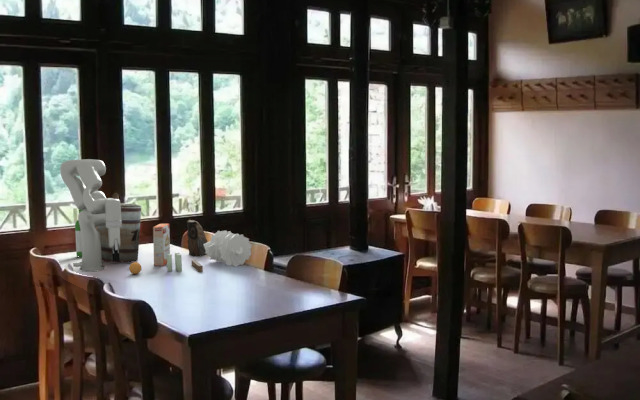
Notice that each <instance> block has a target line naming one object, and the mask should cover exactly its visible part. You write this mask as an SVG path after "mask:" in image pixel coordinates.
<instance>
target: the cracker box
mask: <svg viewBox="0 0 640 400" xmlns="http://www.w3.org/2000/svg"><path fill="white" fill-rule="evenodd" d="M170 231H171V230H170V223H159V224H157V225H155V226H152V237H153V240H152V241H153V265H154V266H156V267H157V266H159V267H160V266H162V267H163V266H165V265H167V254H171V243H170V242H171V239H170V234H171V233H170Z"/></svg>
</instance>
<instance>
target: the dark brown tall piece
mask: <svg viewBox="0 0 640 400" xmlns="http://www.w3.org/2000/svg"><path fill="white" fill-rule="evenodd" d="M186 225H187V226H186V228H187V235H186V236H187V249H188V254H189V255H188V256H192V257H198V258H199V257H200V258H202V257H203V256H208V255H207V254H206V253H205V252H206V251H205V248H204V245H203V244H205V243H207V242H209V241H208V240H207V237H206V234H205V231H204V229H203V227H202V225H201V224H200V223H199V222H198V221H196V220H193V219H192V220H191V219H189V220H187V221H186Z"/></svg>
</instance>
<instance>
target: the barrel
mask: <svg viewBox="0 0 640 400" xmlns="http://www.w3.org/2000/svg"><path fill="white" fill-rule="evenodd" d="M120 204H121V219H122V227H120V247H119V257H120V261H116V262H115V263H133V262H138V261H139V260H138V259H139V246H140V235H141V234H140V231H141V218H142V217H141V216H142V205H138V204H132V203H121V202H120ZM96 229H97V230H98V232H99V233H100V236H101V256H102V262H105V263H106V262H107V263H114V262H113V258H112V253H113V252H112V248H110V247H109V240H108V228H106V225H105V226H97V227H96Z"/></svg>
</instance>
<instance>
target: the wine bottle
mask: <svg viewBox="0 0 640 400" xmlns="http://www.w3.org/2000/svg"><path fill="white" fill-rule="evenodd" d="M81 211H82V210H80V209H78V214H79V213H80V212H81ZM74 229H75V231H74V232H75V233H74V234H75V249H76V250H75V251H76V257H77V256H79V257H82V242H81V230H80V225H79V220H78V219H76V221H75V223H74ZM79 257H78V258H79Z"/></svg>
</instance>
